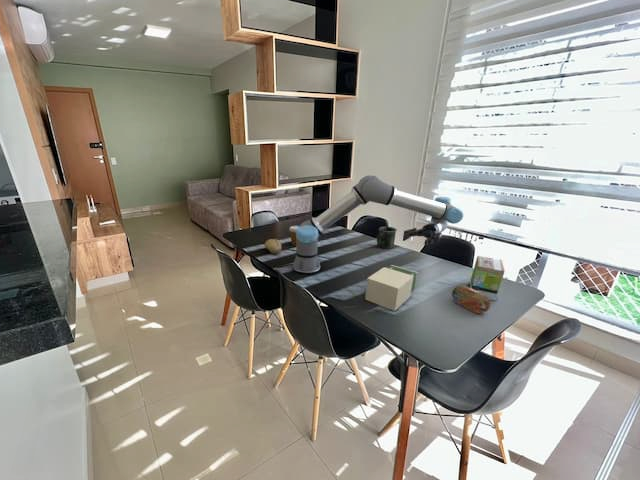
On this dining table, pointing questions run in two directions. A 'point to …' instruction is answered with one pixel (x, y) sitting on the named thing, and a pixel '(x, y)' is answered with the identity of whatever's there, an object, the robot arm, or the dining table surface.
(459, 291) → the orange brown snack packet
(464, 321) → the dining table surface
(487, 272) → the tea box
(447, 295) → the dining table surface
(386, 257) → the dining table surface
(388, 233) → the mug
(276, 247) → the bread roll
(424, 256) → the dining table surface
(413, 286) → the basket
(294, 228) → the disposable coffee cup
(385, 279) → the cream foam cube
